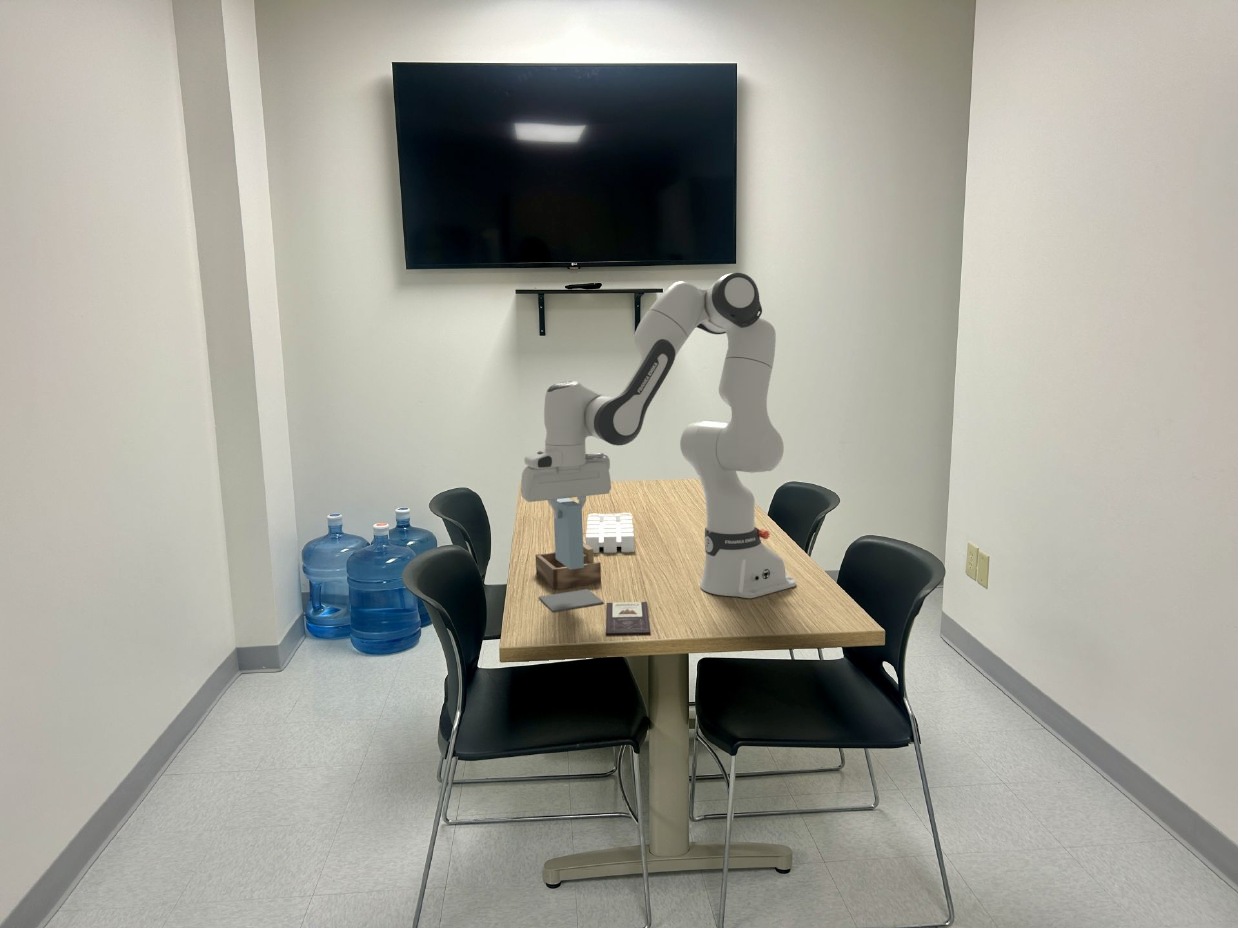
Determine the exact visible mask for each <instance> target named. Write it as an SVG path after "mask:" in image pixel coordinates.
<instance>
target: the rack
mask: <svg viewBox="0 0 1238 928" xmlns="http://www.w3.org/2000/svg"><path fill="white" fill-rule="evenodd" d="M601 564H602V563H601V562H600V561H597V562H595V561H594V563H588V564H584V568H578V569H571V570H570V569H569V568H567V567H566V566H565V565H563V564H562V563H561V562H559V561H558V560H557V559H556V557H555V551H552V552H546V553H538V554H535V571H536V575H537V576H538V577H539V578H540V579H541V580H542V581H544V582H545V584H547V585H548V586H549V587H550V588H552V589H553V591H555V590H563V589H568V588H569V589H570V588H575V587H583V586H589V585H594V584H601V583H602V565H601Z"/></svg>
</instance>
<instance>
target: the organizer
mask: <svg viewBox="0 0 1238 928" xmlns="http://www.w3.org/2000/svg"><path fill="white" fill-rule="evenodd" d="M585 544H587V545H588V546H590V547H591V548H593V552H594V554H600V548H603V553H605V554H606V553H617V552H618V550H617V549H618V548H617V547H619V548H620V547H621V548H620V549H621V550H620V551H621V553H634V552H635V533H634V526H633V515H632V513H630V512H622V513H597V512H596V513H590V514H588V515H587V524H586V534H585Z"/></svg>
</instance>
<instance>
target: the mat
mask: <svg viewBox="0 0 1238 928" xmlns="http://www.w3.org/2000/svg"><path fill="white" fill-rule="evenodd" d="M538 599H539V600H540V601H541V602H542V603H543V604H544V605H545V606H546V607H547V608H548V609H549V610H550V611H551V612H552V613H554V612H555V613H556V612H562V611H567V610H572V609H579V608H585V607H591V606H596V605H602V604H604V603H605V602H604V601H603V600H602V599H600V597H598V596H597V595H596V594H595V593H593V591H591V590H590V589H589V588H585V589H579V590H571V591H566V592H561V593H560V592H559V593H555V594H548V595H542V596H538Z"/></svg>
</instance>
